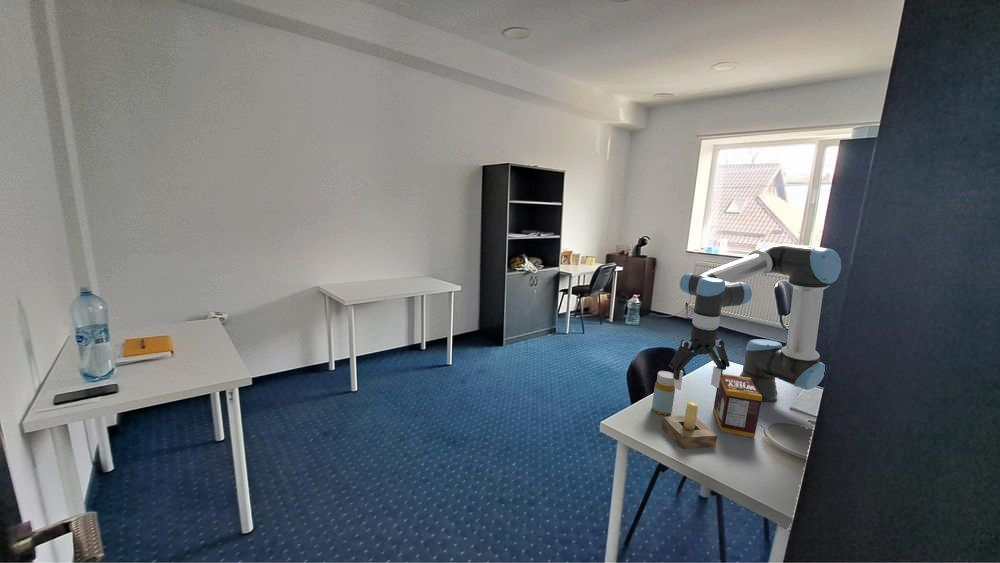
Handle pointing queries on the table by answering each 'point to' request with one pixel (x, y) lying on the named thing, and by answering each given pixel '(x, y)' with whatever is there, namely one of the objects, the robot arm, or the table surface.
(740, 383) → the supplement box
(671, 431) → the socket block
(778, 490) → the table surface
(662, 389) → the bottle
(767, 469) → the table surface
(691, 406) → the peg
